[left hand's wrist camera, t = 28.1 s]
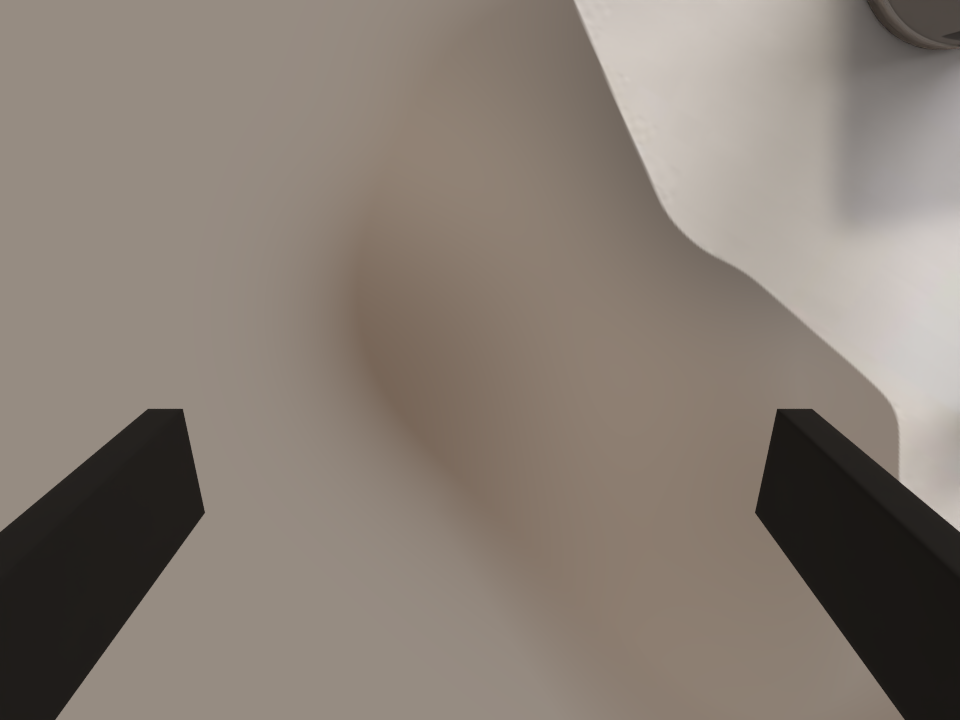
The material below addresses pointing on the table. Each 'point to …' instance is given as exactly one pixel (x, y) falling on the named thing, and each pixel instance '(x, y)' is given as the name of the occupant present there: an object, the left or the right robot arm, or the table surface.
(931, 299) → the table surface
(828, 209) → the table surface
